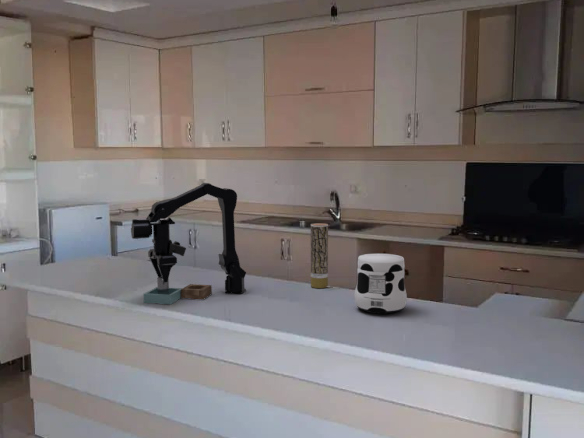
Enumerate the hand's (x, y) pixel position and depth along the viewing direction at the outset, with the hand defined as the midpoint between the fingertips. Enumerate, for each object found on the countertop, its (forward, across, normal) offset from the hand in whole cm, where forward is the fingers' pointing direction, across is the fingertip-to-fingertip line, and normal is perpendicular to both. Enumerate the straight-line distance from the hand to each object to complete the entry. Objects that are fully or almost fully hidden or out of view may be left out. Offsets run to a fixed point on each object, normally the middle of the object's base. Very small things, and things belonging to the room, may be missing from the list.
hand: (162, 279), depth 205 cm
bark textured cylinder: (+8, -8, -60) cm, 61 cm away
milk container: (+8, -47, -62) cm, 78 cm away
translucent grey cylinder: (+7, 0, 0) cm, 7 cm away
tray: (+8, 0, 0) cm, 8 cm away
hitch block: (+8, 0, -12) cm, 14 cm away
